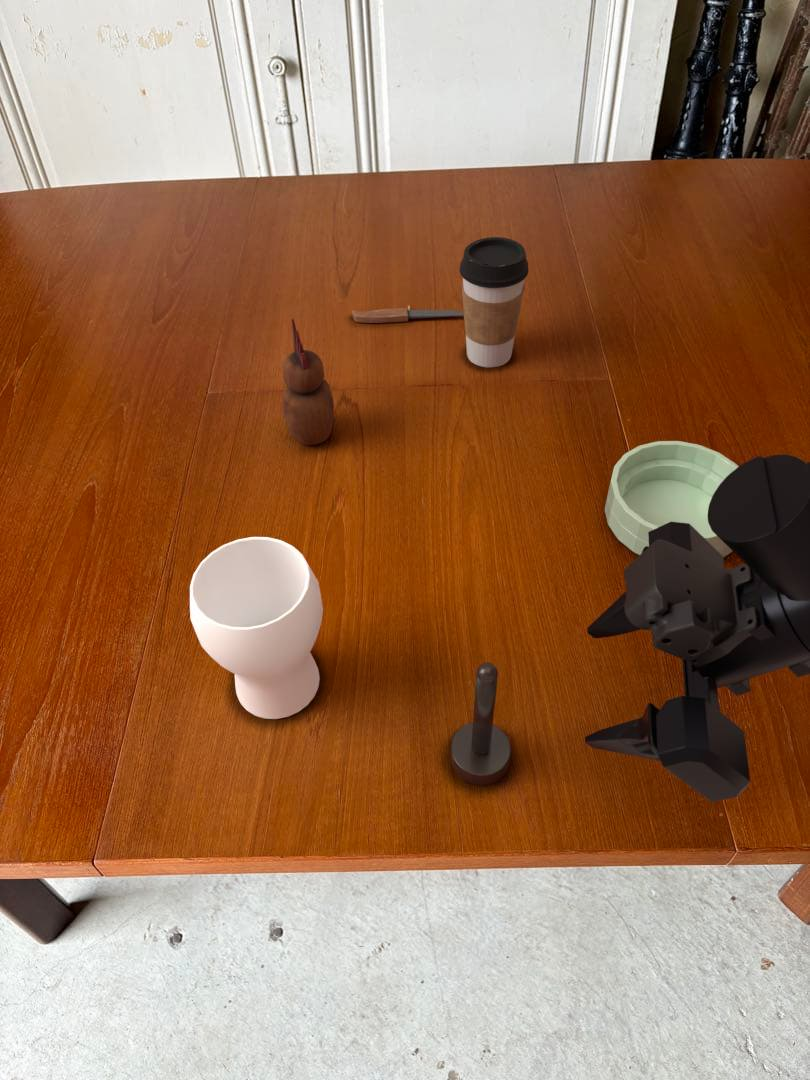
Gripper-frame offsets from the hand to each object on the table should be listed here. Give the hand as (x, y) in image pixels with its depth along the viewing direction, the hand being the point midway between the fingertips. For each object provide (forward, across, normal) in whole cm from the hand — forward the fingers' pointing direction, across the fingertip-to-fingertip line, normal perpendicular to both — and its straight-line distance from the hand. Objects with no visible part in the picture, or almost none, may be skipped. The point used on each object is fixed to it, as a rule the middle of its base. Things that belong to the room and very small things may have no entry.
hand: (589, 685), depth 59 cm
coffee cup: (+18, -58, +1) cm, 61 cm away
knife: (+26, -66, -7) cm, 71 cm away
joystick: (+15, 0, +4) cm, 15 cm away
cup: (+28, -5, -9) cm, 30 cm away
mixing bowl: (+2, -31, +17) cm, 35 cm away
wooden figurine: (+32, -39, -13) cm, 52 cm away
